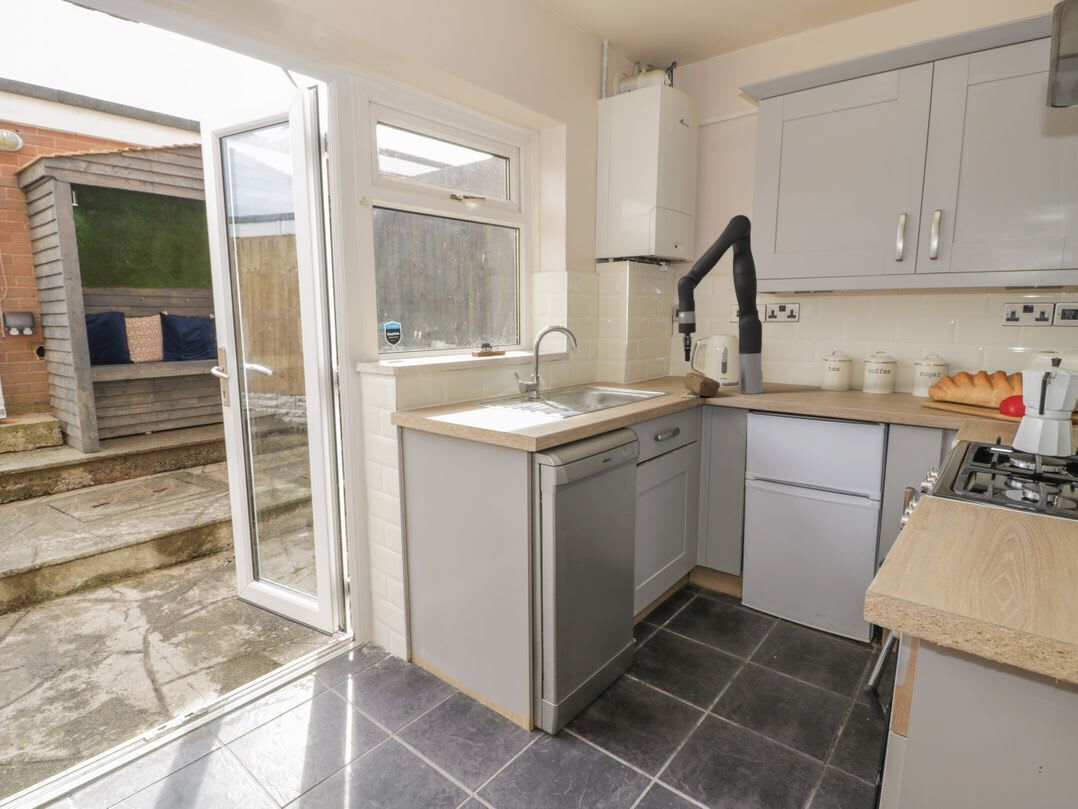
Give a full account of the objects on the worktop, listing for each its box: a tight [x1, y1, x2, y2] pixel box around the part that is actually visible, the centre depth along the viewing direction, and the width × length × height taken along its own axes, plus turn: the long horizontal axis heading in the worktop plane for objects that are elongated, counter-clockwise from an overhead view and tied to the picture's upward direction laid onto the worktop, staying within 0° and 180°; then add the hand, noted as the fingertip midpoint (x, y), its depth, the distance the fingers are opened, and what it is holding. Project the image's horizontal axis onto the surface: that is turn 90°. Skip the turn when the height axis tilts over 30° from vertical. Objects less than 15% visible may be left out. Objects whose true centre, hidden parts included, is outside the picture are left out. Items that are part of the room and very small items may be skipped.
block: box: [683, 372, 721, 398], centre depth 253 cm, size 11×8×20 cm
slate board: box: [686, 391, 701, 398], centre depth 253 cm, size 8×12×1 cm, turn 169°
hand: (687, 361), depth 261 cm, fingers closed
